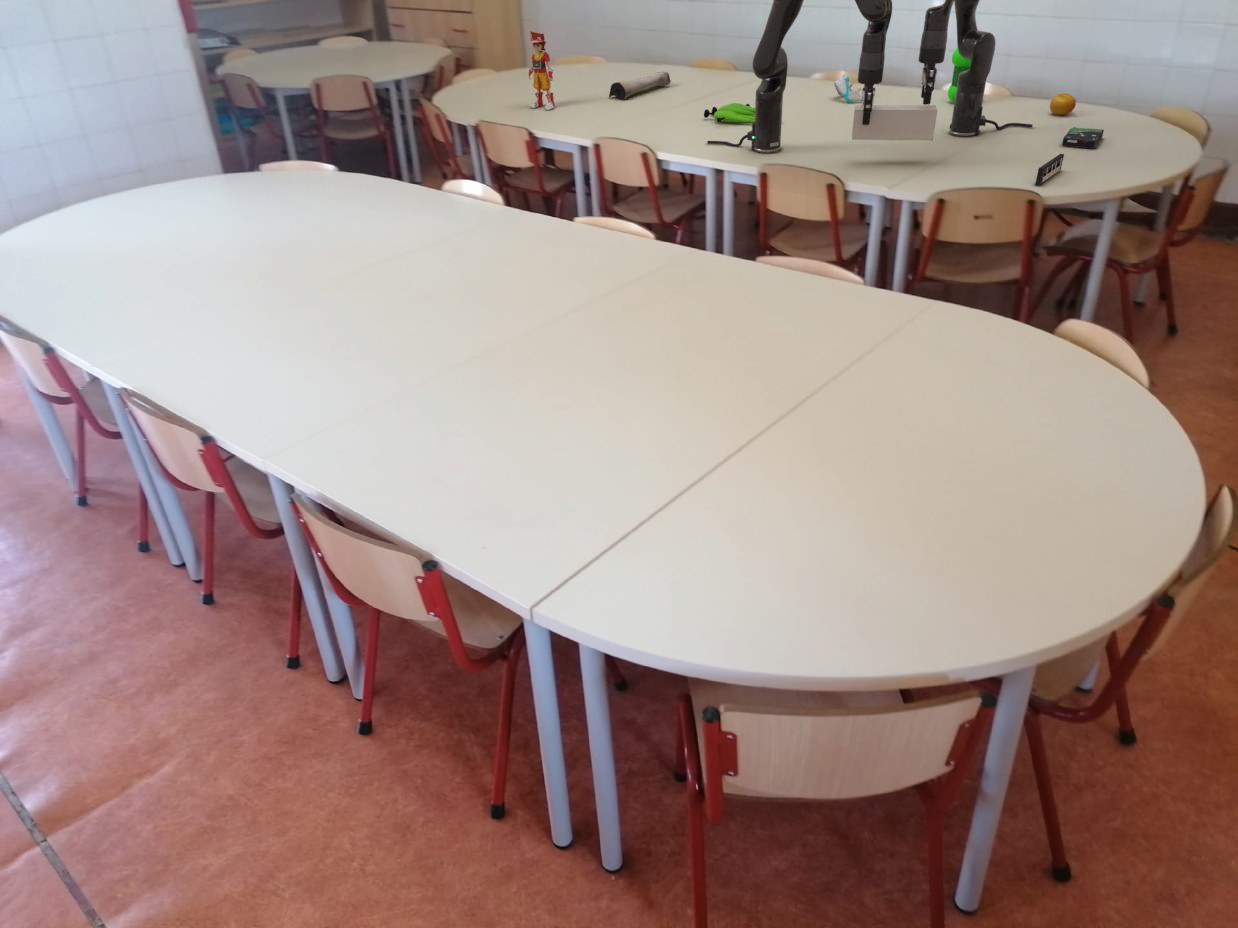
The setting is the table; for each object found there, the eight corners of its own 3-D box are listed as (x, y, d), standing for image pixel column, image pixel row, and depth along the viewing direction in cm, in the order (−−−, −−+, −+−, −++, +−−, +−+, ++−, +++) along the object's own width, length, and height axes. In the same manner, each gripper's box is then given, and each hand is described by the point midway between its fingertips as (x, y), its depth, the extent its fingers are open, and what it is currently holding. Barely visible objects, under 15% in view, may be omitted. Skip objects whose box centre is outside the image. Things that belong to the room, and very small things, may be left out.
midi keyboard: (1039, 185, 269) (1043, 168, 266) (1035, 184, 270) (1038, 168, 267) (1060, 170, 279) (1064, 154, 277) (1056, 169, 280) (1060, 153, 277)
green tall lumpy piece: (978, 101, 353) (990, 32, 339) (960, 106, 348) (971, 36, 334) (957, 97, 360) (967, 29, 346) (939, 102, 355) (949, 33, 341)
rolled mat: (651, 76, 408) (662, 61, 399) (662, 93, 408) (674, 79, 400) (605, 92, 391) (616, 77, 383) (617, 110, 391) (628, 95, 383)
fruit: (1046, 106, 329) (1061, 86, 326) (1044, 110, 336) (1059, 90, 333) (1065, 119, 327) (1081, 99, 324) (1063, 122, 335) (1078, 102, 332)
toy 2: (694, 121, 346) (765, 134, 333) (695, 107, 343) (767, 120, 330) (725, 110, 366) (794, 122, 353) (727, 97, 363) (796, 108, 351)
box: (931, 135, 291) (935, 105, 286) (932, 140, 286) (937, 110, 281) (851, 134, 296) (854, 105, 291) (851, 139, 291) (854, 110, 286)
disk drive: (1095, 149, 295) (1102, 137, 305) (1097, 141, 294) (1104, 129, 304) (1061, 146, 300) (1069, 134, 310) (1063, 138, 298) (1071, 126, 309)
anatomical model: (829, 74, 368) (853, 67, 367) (832, 100, 374) (856, 93, 373) (840, 82, 356) (864, 75, 355) (842, 109, 362) (867, 102, 361)
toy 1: (525, 109, 381) (517, 32, 364) (534, 104, 388) (527, 28, 371) (550, 110, 377) (543, 32, 360) (559, 105, 384) (553, 28, 367)
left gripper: (858, 61, 287) (853, 116, 296) (859, 71, 275) (853, 128, 285) (882, 61, 285) (876, 116, 295) (884, 71, 274) (878, 128, 284)
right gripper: (948, 50, 267) (939, 106, 277) (944, 41, 279) (936, 96, 288) (922, 50, 269) (914, 106, 278) (918, 41, 280) (911, 96, 289)
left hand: (865, 121), depth 290 cm, fingers closed on box, 6 cm apart
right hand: (925, 101), depth 283 cm, fingers open, 8 cm apart
